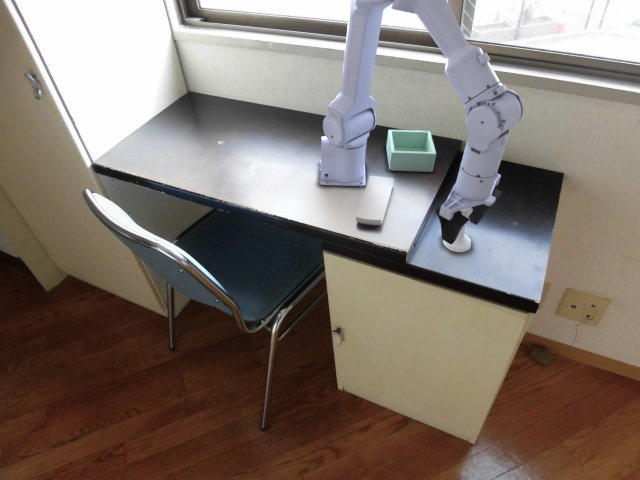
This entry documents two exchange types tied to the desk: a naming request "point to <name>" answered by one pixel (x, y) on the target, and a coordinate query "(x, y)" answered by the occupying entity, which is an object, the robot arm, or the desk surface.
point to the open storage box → (410, 150)
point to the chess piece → (461, 236)
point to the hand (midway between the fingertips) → (460, 231)
